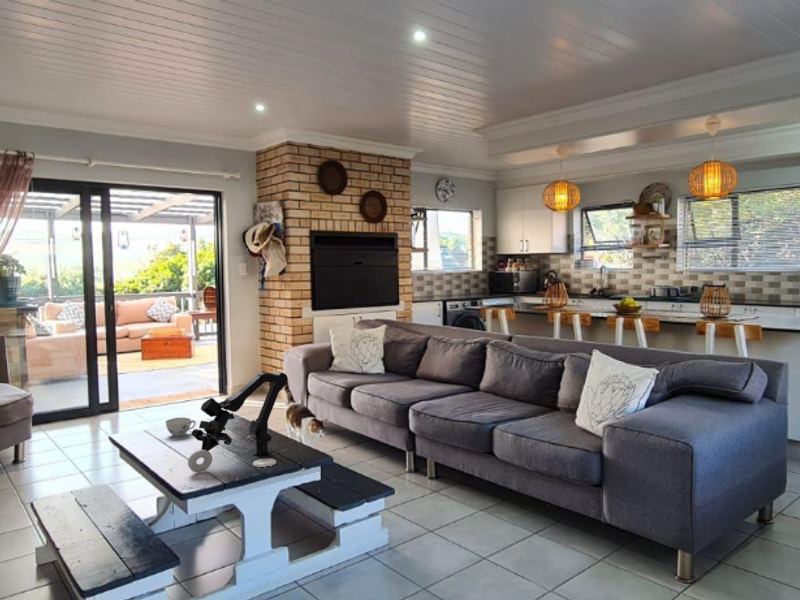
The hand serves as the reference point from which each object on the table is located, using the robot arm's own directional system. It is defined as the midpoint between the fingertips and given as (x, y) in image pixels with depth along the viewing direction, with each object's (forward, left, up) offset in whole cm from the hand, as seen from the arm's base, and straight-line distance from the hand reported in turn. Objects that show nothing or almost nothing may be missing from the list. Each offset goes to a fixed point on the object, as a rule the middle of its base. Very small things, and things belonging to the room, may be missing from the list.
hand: (201, 454), depth 248 cm
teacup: (-52, -40, -8) cm, 66 cm away
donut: (+1, 0, -7) cm, 7 cm away
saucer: (-13, +23, -7) cm, 27 cm away
